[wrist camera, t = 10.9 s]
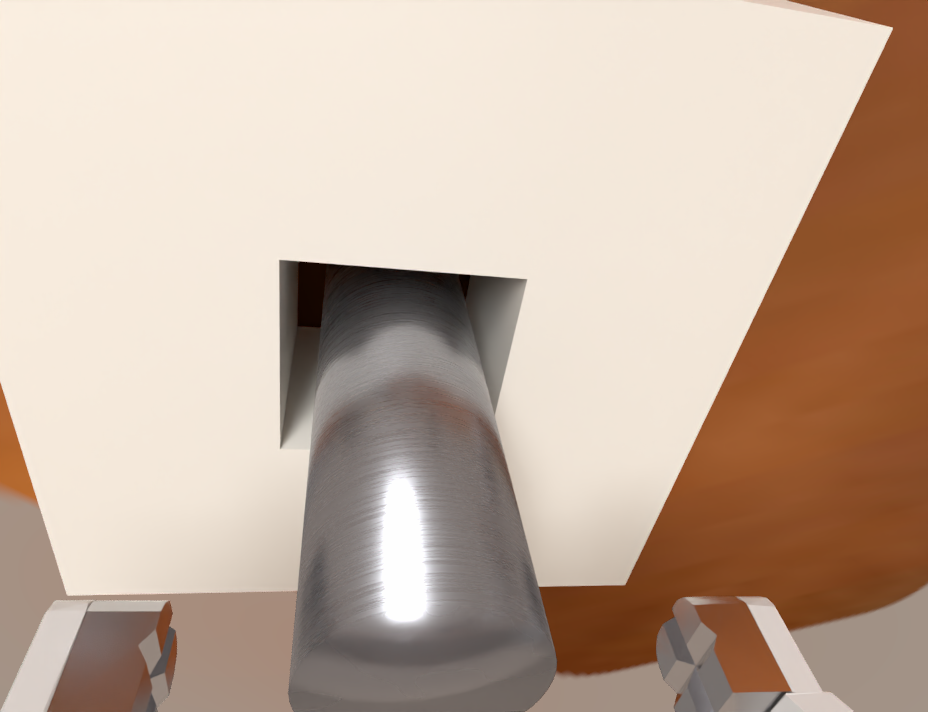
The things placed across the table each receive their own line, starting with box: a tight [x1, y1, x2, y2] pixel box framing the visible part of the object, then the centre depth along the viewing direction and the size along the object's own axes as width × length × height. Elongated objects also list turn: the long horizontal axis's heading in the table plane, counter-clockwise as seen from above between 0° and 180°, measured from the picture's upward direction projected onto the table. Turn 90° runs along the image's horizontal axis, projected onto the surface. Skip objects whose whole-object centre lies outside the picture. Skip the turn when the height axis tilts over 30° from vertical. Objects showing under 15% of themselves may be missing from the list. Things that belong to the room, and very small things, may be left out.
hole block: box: [0, 0, 893, 595], centre depth 19 cm, size 18×18×6 cm
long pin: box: [288, 263, 557, 712], centre depth 15 cm, size 4×4×14 cm
